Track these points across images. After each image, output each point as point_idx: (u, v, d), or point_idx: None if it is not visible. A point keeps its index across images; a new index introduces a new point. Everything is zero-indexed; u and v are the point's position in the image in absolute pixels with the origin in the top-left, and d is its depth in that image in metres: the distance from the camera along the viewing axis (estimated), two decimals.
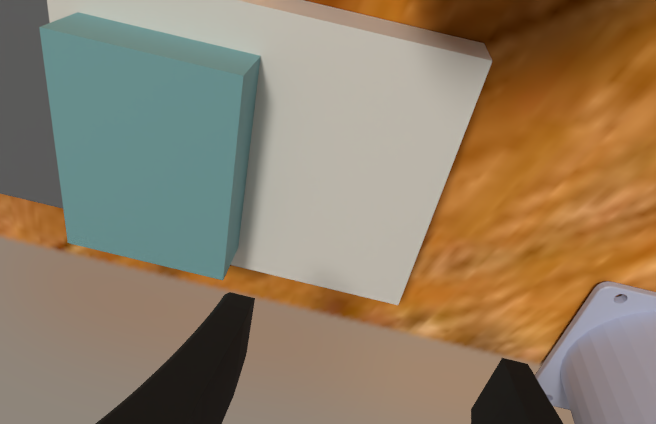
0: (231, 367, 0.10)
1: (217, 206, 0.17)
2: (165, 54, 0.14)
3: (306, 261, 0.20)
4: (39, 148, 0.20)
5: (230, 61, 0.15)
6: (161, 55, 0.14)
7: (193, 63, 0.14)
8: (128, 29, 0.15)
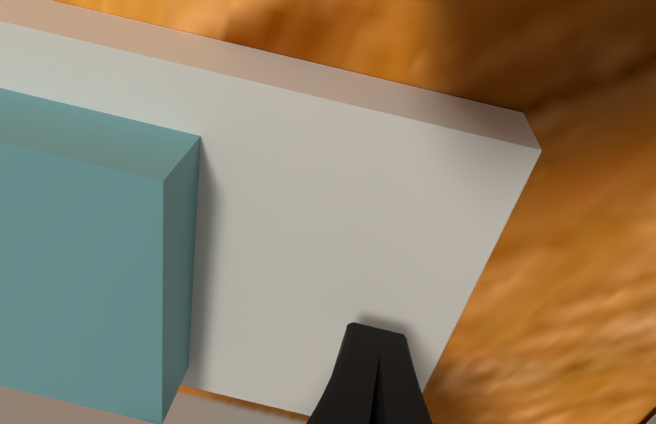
0: None
1: (144, 342, 0.12)
2: (45, 146, 0.09)
3: (278, 385, 0.15)
4: None
5: (149, 152, 0.10)
6: (38, 149, 0.09)
7: (88, 160, 0.09)
8: (4, 100, 0.11)
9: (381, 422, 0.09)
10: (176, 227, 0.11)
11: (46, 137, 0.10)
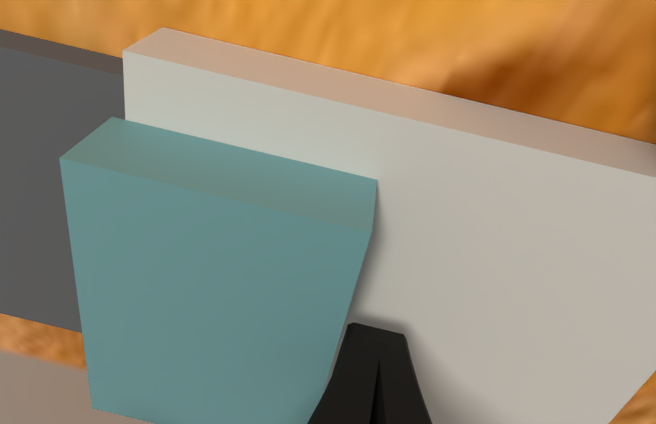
0: None
1: (307, 382, 0.12)
2: (250, 197, 0.09)
3: None
4: None
5: (343, 199, 0.10)
6: (246, 200, 0.09)
7: (295, 212, 0.09)
8: (187, 145, 0.11)
9: (381, 422, 0.09)
10: None
11: (246, 187, 0.10)
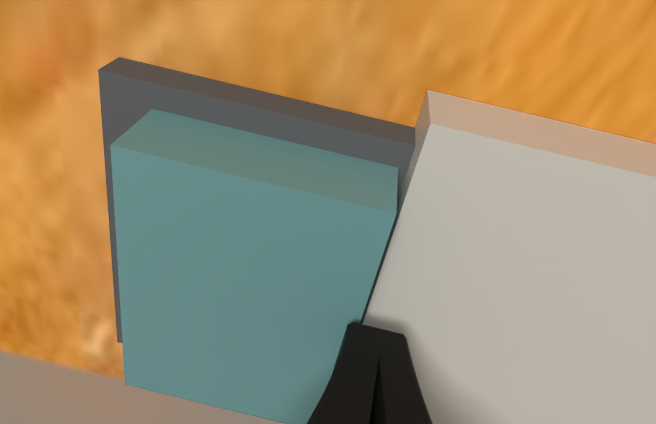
0: None
1: (330, 357, 0.13)
2: (285, 181, 0.10)
3: None
4: None
5: (368, 185, 0.11)
6: (281, 184, 0.10)
7: (326, 195, 0.10)
8: (223, 135, 0.11)
9: (381, 422, 0.09)
10: None
11: (280, 172, 0.11)
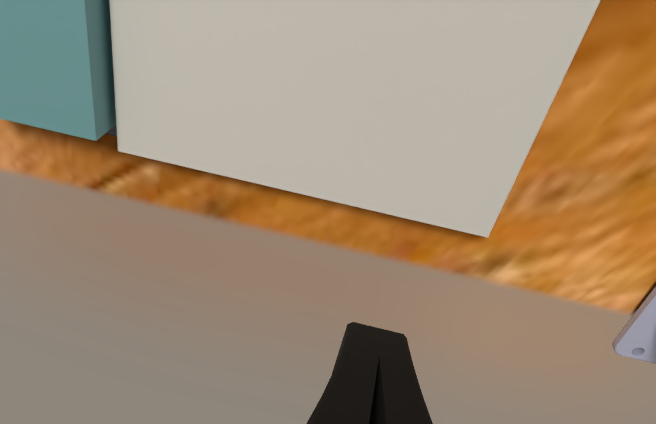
0: None
1: (74, 42, 0.15)
2: None
3: (386, 185, 0.18)
4: None
5: None
6: None
7: None
8: None
9: (381, 422, 0.09)
10: None
11: None
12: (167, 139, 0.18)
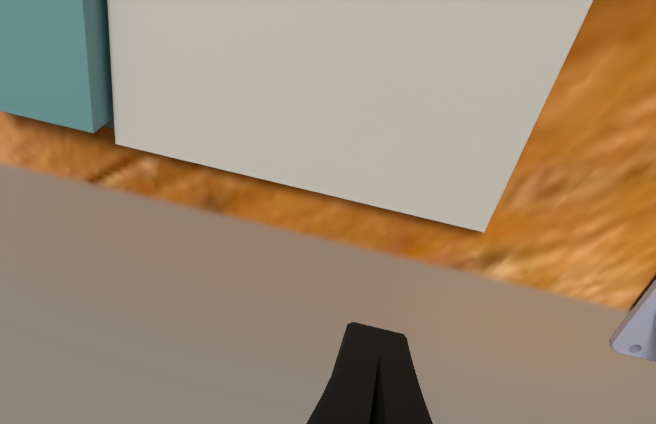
0: None
1: (71, 34, 0.15)
2: None
3: (382, 179, 0.18)
4: None
5: None
6: None
7: None
8: None
9: (381, 422, 0.09)
10: None
11: None
12: (164, 132, 0.18)
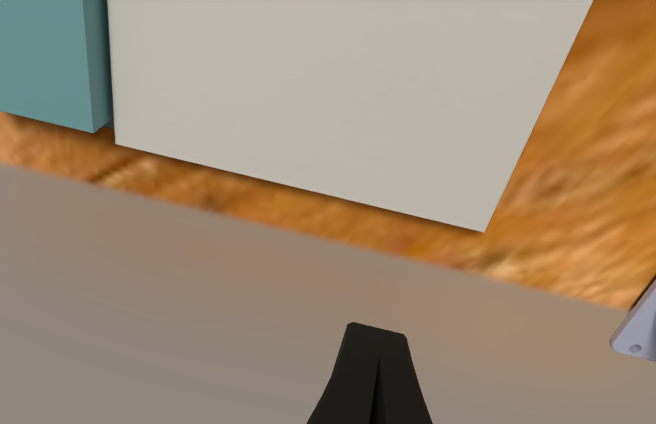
0: None
1: (71, 34, 0.15)
2: None
3: (382, 179, 0.18)
4: None
5: None
6: None
7: None
8: None
9: (381, 422, 0.09)
10: None
11: None
12: (164, 132, 0.18)
